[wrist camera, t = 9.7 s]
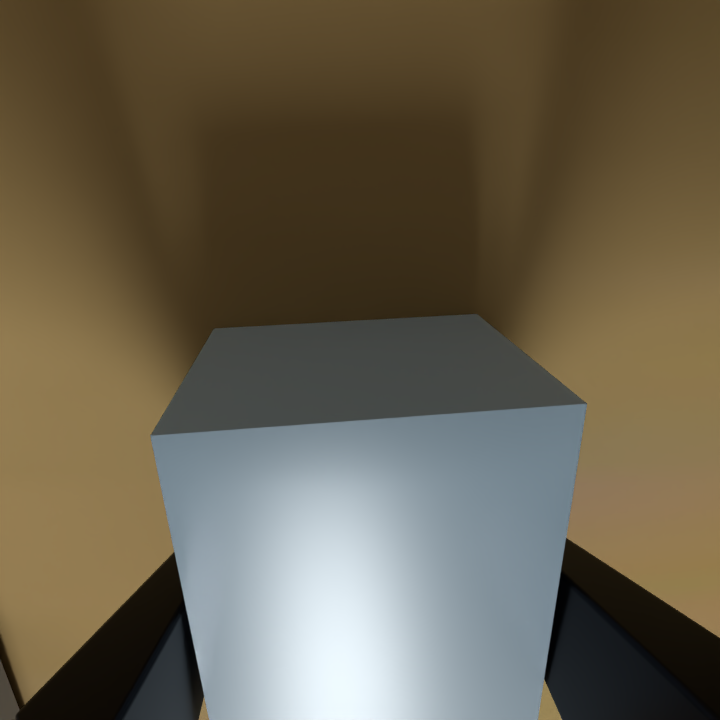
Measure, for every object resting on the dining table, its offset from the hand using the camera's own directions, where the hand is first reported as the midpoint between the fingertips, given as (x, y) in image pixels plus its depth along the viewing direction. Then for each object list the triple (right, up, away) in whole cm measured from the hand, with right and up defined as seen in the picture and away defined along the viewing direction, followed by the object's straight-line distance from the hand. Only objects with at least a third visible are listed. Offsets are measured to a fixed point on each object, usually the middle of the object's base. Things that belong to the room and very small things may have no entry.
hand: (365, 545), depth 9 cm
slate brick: (0, +1, +2) cm, 2 cm away
